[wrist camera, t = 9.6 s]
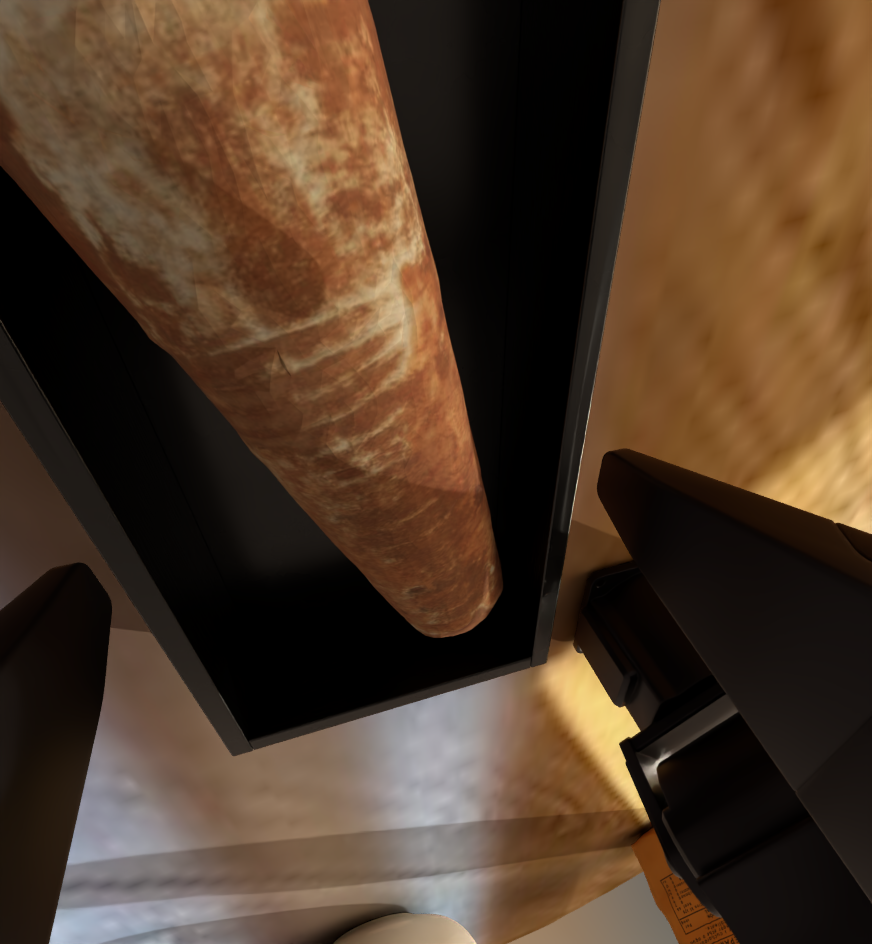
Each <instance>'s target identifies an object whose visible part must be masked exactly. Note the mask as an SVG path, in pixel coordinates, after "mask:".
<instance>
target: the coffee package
mask: <svg viewBox="0 0 872 944" xmlns="http://www.w3.org/2000/svg"><path fill="white" fill-rule="evenodd" d="M631 847H632V849H633V851H634V853H635V855H636V857H637V859H638V861H639V863H640V865H641V867H642V869H643V871H644V874H645V877H646V879H647V881H648V884H649V887H650V890H651V893H652V895H653V898H654V900H655V902H656V904H657V906H658V908H659V909H660V910H661V911H662V913H663V914H664V915H665V917H666V919H667V920H668V922H669V924H670V925H671V928H672V930H673V932H674V934H675V936H676V939H677V941H678V943H679V944H740V943H739V942H738V940H737V939H736V937H735V936H734V934H733V933H732V931H731V930H730V928H729V927H728V925H727V924H726V923H725V921H724V920H723V918H720V917H716V916H715V915H713V914H712V913H711V912H709V911H708V910H707V909H706V908H705V907H704V906H703V905H702V904H701V902H700V901H699V900H698V899H697V898H696V896H695V895H694V894H693V893H692V891H691V890H690V889H689V887H688V886H687V884H686V883H685V882H684V880H683V879H681V878H679V877H677V876H675V875H674V874H673V873H672V871H671V870H670V868H669V866H668V864H667V862H666V859H665V856H664V852H663V849H662V847H661V844H660V842H659V840H658V837H657V835H656V833H655V830H654V828H652V829H650V830H649V831H648V832H646V833H644V834H643V835H642V836H641V837H640V838H639V839H638V840H637V841H636V842H635V843H634V844H632V845H631Z"/></svg>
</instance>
